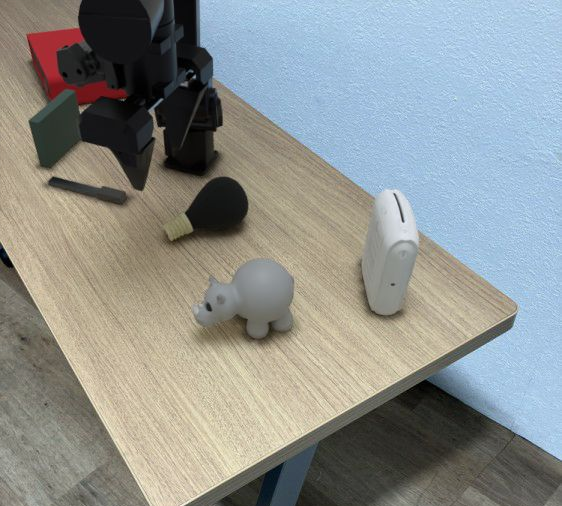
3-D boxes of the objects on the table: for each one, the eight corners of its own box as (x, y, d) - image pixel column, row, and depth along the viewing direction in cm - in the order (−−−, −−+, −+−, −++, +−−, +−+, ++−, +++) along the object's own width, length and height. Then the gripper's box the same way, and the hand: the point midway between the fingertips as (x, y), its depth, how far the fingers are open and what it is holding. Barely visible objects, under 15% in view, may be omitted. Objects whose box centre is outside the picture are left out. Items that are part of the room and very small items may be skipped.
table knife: (127, 197, 86) (126, 191, 86) (121, 204, 85) (120, 198, 85) (54, 179, 88) (53, 172, 87) (47, 185, 87) (46, 179, 86)
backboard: (84, 135, 96) (75, 90, 90) (50, 168, 90) (38, 122, 84) (75, 132, 96) (65, 88, 91) (40, 165, 90) (27, 120, 85)
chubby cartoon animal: (183, 316, 73) (178, 260, 66) (277, 294, 76) (282, 239, 69) (201, 360, 69) (198, 305, 62) (300, 335, 72) (307, 280, 65)
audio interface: (32, 61, 110) (25, 32, 106) (111, 51, 114) (107, 22, 110) (54, 110, 100) (47, 79, 96) (139, 96, 104) (136, 66, 101)
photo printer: (403, 316, 75) (428, 235, 65) (369, 316, 74) (389, 234, 65) (389, 261, 81) (410, 179, 72) (357, 260, 81) (374, 178, 71)
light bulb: (156, 210, 76) (240, 167, 78) (148, 209, 82) (226, 169, 84) (182, 259, 78) (262, 216, 80) (172, 254, 84) (247, 214, 87)
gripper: (114, -30, 64) (133, 115, 76) (6, 36, 52) (47, 194, 64) (213, -10, 62) (216, 135, 74) (123, 63, 50) (144, 221, 62)
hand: (158, 168), depth 69 cm, fingers open, 9 cm apart
